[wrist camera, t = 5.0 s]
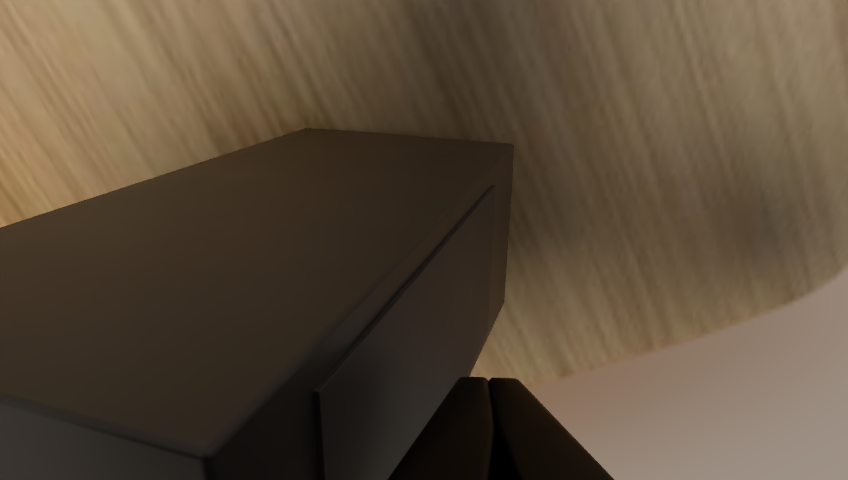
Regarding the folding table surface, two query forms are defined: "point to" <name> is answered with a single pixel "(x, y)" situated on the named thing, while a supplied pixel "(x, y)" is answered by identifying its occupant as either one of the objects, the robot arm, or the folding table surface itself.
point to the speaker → (253, 311)
